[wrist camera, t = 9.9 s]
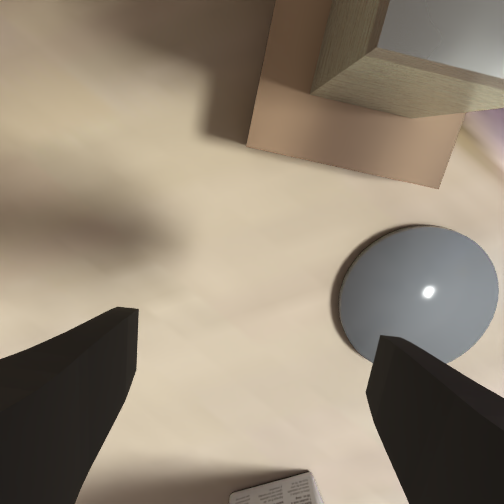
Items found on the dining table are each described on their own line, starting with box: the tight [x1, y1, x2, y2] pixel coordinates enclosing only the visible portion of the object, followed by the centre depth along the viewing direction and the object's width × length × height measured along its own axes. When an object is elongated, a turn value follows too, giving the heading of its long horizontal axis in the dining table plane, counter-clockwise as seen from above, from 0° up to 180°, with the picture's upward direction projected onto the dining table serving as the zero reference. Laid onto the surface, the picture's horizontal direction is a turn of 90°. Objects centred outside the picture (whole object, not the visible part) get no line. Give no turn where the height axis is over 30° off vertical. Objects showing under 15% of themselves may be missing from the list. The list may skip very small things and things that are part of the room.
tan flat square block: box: [246, 0, 466, 189], centre depth 17 cm, size 9×9×3 cm
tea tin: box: [310, 0, 504, 119], centre depth 11 cm, size 5×5×9 cm
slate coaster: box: [338, 225, 499, 364], centre depth 22 cm, size 9×9×1 cm
